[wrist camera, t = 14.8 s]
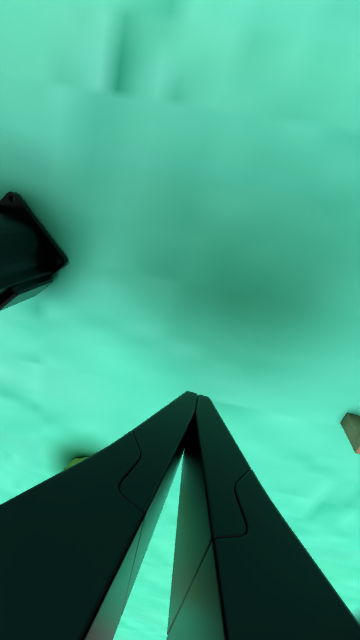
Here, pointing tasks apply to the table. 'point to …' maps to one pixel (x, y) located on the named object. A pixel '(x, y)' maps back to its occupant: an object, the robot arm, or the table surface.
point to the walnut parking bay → (352, 430)
